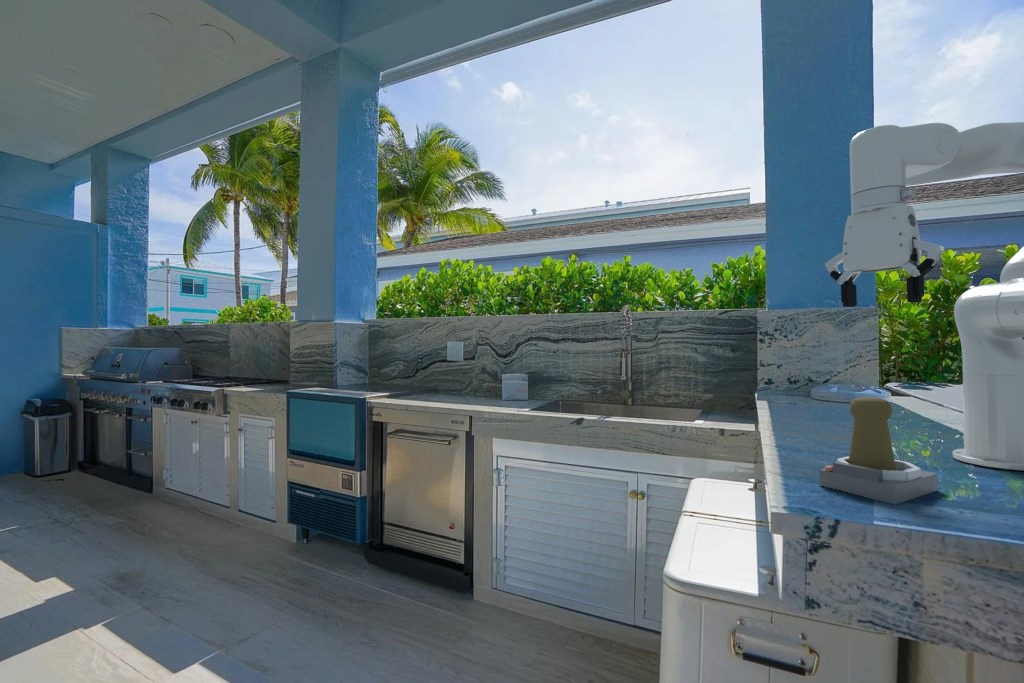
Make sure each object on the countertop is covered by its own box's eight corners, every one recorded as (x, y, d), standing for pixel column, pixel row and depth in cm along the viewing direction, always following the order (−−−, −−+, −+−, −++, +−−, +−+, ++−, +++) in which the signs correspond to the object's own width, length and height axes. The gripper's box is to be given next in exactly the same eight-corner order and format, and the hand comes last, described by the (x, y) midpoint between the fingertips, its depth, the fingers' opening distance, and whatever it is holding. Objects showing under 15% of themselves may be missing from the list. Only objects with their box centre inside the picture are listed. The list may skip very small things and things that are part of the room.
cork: (905, 476, 71) (904, 400, 71) (858, 474, 73) (857, 399, 73) (883, 465, 77) (882, 395, 77) (840, 464, 78) (839, 395, 78)
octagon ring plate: (863, 474, 81) (862, 450, 81) (937, 490, 72) (937, 463, 72) (819, 485, 76) (819, 459, 76) (895, 504, 67) (894, 475, 67)
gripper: (952, 192, 78) (955, 300, 78) (836, 217, 93) (839, 308, 93) (929, 186, 74) (932, 300, 74) (813, 213, 90) (815, 308, 90)
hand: (880, 304), depth 84 cm, fingers open, 9 cm apart
